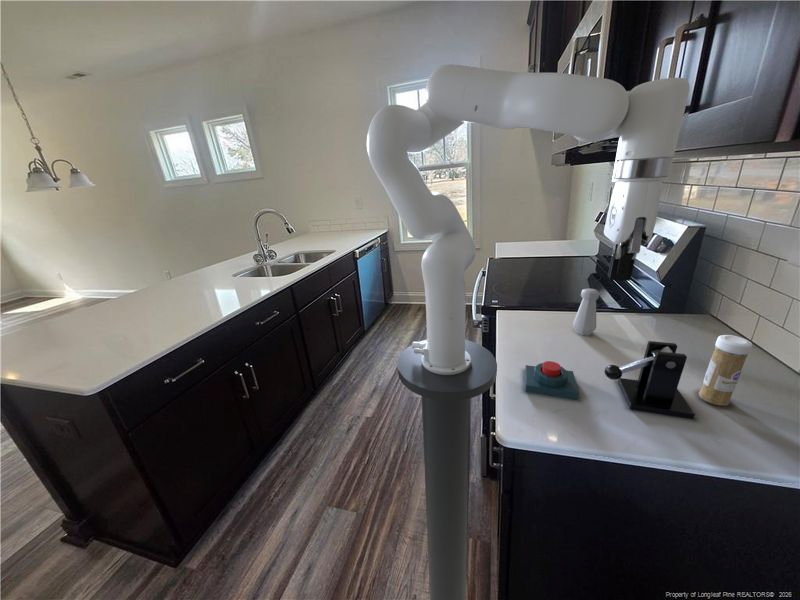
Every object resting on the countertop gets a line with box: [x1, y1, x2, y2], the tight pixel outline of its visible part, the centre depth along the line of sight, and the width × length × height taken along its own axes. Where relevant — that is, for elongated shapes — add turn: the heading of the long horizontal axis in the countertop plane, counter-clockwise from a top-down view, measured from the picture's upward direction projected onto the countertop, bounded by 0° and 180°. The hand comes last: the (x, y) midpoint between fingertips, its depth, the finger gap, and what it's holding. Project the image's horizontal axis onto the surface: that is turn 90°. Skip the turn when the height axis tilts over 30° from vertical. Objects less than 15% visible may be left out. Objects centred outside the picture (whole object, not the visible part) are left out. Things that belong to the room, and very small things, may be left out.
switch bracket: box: [617, 340, 696, 420], centre depth 62 cm, size 10×9×12 cm
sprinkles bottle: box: [698, 334, 753, 407], centre depth 60 cm, size 5×5×13 cm
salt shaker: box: [572, 287, 600, 336], centre depth 88 cm, size 6×6×13 cm
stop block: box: [524, 362, 579, 400], centre depth 70 cm, size 10×8×4 cm
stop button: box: [542, 360, 562, 377], centre depth 69 cm, size 4×4×2 cm
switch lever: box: [604, 346, 673, 381], centre depth 62 cm, size 12×3×3 cm, turn 70°
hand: (618, 278), depth 58 cm, fingers closed
